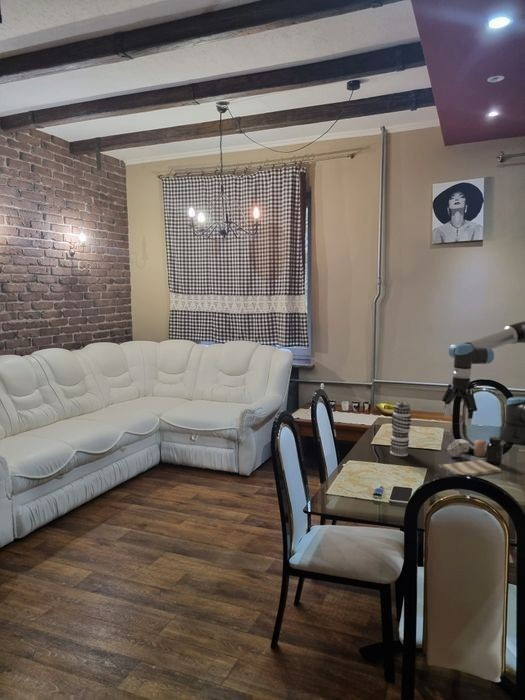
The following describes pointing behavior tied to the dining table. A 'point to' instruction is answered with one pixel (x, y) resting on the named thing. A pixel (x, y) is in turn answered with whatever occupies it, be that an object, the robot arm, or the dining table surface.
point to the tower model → (400, 429)
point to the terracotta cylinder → (480, 448)
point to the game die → (455, 449)
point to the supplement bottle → (494, 451)
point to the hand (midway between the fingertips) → (457, 421)
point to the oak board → (471, 468)
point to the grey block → (464, 444)
